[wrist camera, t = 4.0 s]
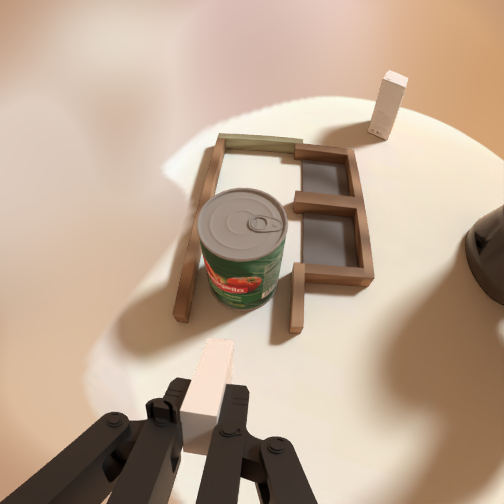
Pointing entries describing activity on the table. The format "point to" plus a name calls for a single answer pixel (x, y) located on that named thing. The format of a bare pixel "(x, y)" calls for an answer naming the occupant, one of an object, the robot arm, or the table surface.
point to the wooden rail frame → (314, 220)
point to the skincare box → (387, 104)
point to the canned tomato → (242, 246)
